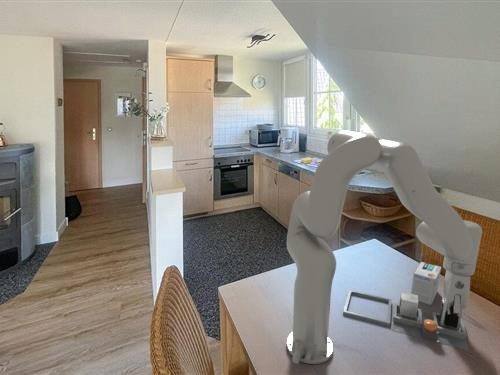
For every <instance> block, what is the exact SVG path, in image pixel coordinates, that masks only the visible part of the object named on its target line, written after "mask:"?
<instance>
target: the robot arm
mask: <svg viewBox="0 0 500 375" xmlns="http://www.w3.org/2000/svg"><path fill="white" fill-rule="evenodd" d="M327 152H328V154H327V155H326V156H325V157H324V158H323V159H322V160H321V161H320V162H319V164H318V165H317V167H316V169H315V171H314V174H313V177H312V182H311V185H310V188H309V189H310V190H308V191H304V192H302V193H301V194H299V195H298V196H297V197H296V199H295V200H294V202H293V205H292V207H291V213H290V218H289V223H288V229H287V234H286V249H287V251H288V254H289V255H290V257H291V258H292V261H293V262H294V264H295V266H296V271H297V272H296V273H297V274H296V278H295V280H294V288H293V290H294V291H293V315H292V332H290V334H289V335H288V337H287V338H286V349H287V351H288V353H289V354H290V355H291V356H292V357H291V360H292V362H293V363H294V364H295V365H296V364H297V365H298V364H299V363H300V362H301V363H304V364H310V365H319V364H322V363H325V362H327V361H328V360H330V359H331V358H332V355H333V354H334V345H333V341H332V340H331V338H329V330H330V315H331V314H330V313H331V312H330V311H331V298H332V296H331V295H332V287H333V280H334V277H335V274H336V269H337V259H336V256H335V254H334V252H333V250H332V248H331V247H330V246H329V245H328V244H327V243H326V242H325V240H324V239H329V238H331V237H333V236H334V235H335V234H336V232H337V231H338V229H339V227H340V223H341V219H342V213H343V209H344V205H345V200H346V196H347V192H348V189H349V186H350V183H352V181H353V180H354V178H355V177H357V175H359V174H360V173H361V172H363V171H365V170H367V169H371V170H375V171H379V172H381V173H384V174H385V176H386V177H387V179H388V181H389V182H390V185H391V186H392V188H393V189H394V190H393V191H394V192H395V194H396V195H397V197H398V199H399V202H400V203H401V204H402V205H403V206H404V208H405V209H407V210H408V212H409V213H411V214H413V215H414V216H415V217H417V218H418V219H419V220H421V222H420V224H418V225H417V227H416V230H415V233H416V238H418V240H419V242H421V243H422V244H424V245H425V246H426V247H429V248H430V249H432V250H434V251H435V252H437V253H439V254H440V255H441V256H444V257H443V263H442V268H443V269H445V274H444V281H443V293H444V295H443V296H445V299H446V303H447V304H448V309H447V312H446V314H445V320H444V325H446V326H450V327H454V328H457V325H458V320H459V313H460V304H461V305H462V308H463V309H464V310H466V309H468V305H469V297H470V290H471V276H473V275H474V274H475V270H476V267H477V266H476V265H477V261H478V255H479V250H480V247H481V246H480V244H481V239H482V235H483V234H482V233H483V229H482V226H481V225H479V223H476V222H474V221H470V220H466V219H465V220H464V219H463V218H462V216H461V215H460V213H458V212H457V210H456V209H455V208H454V207H452V205H451V204H450V203H449V202H448V201H447V200H446V199H445V197H444V196H442V194H440V192H439V191H437V189H436V187H435V185H434V184H433V182H432V179H431V178H430V176H429V174H428V172H427V170H426V169H425V166H424V164H423V163H422V160H421V158H420V156H419V154H418V153H417V151H416V148H414V147H413V146H412V145H410V144H408V143H405V142H401V141H398V140H397V141H396V140H390V139H385V138H384V139H383V138H380V137H379V138H378V137H375V136H373V135H371V134H369V133H364V132H359V131H351V130H339V131H337V132H335V133H333V135H331V137H330V138H329V140H328V141H327ZM452 302H454V304H453V303H452ZM451 306H452V307H453V309H451ZM450 309H451V310H450Z"/></svg>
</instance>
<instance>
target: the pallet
mask: <svg viewBox="0 0 500 375" xmlns="http://www.w3.org/2000/svg"><path fill="white" fill-rule="evenodd" d="M399 305H400V303H395V302H394V303H393V306H392V308H393V309H392V323H391V324H392V330H391V331H392V332H395V333H400V334H402V335H403V334H404V335H407V336H411V337H415V338H418V339H422V340H426V341H429V342H430V341H431V342H433V343H434V342H435V343H437V344H442V345H444V346H450V347H453V348H456V349H461V350H464V351H468V352H469V351H470V348H469V343H468V340H467V337H468V335H467V331H466V327H465V324H464V319H463V318H461V321H460V326H459V330H458V329H454V328H450V327H446V326H442V325H441V324H440V319H439V315H440V312H435V311H432V314H429V313H423V312H422V308H418V309H417V316H416V321H414V320H410V319H406V318H402V317H399ZM426 319H429V320H433V321H434V322H436V323H437V329H436V331H435V332H431V331H428V330H426V329H425V328H424V321H425V320H426Z"/></svg>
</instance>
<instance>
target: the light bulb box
mask: <svg viewBox="0 0 500 375" xmlns="http://www.w3.org/2000/svg"><path fill="white" fill-rule="evenodd" d="M441 269H442V266H439V265H436V264H435V265H434V264H430V263H427V262H424V261H420V263H419V264H418V266H417V268H416V269H415V271H414V273H413V277H412V284H411V291H410V294H414V295H418V302H420V303H422V304H426V305H429V306H431V305H432V304H433V302H434V300H435V298H436V296H437V293H438V288H439V281H440V277H441V271H442V270H441Z"/></svg>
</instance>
